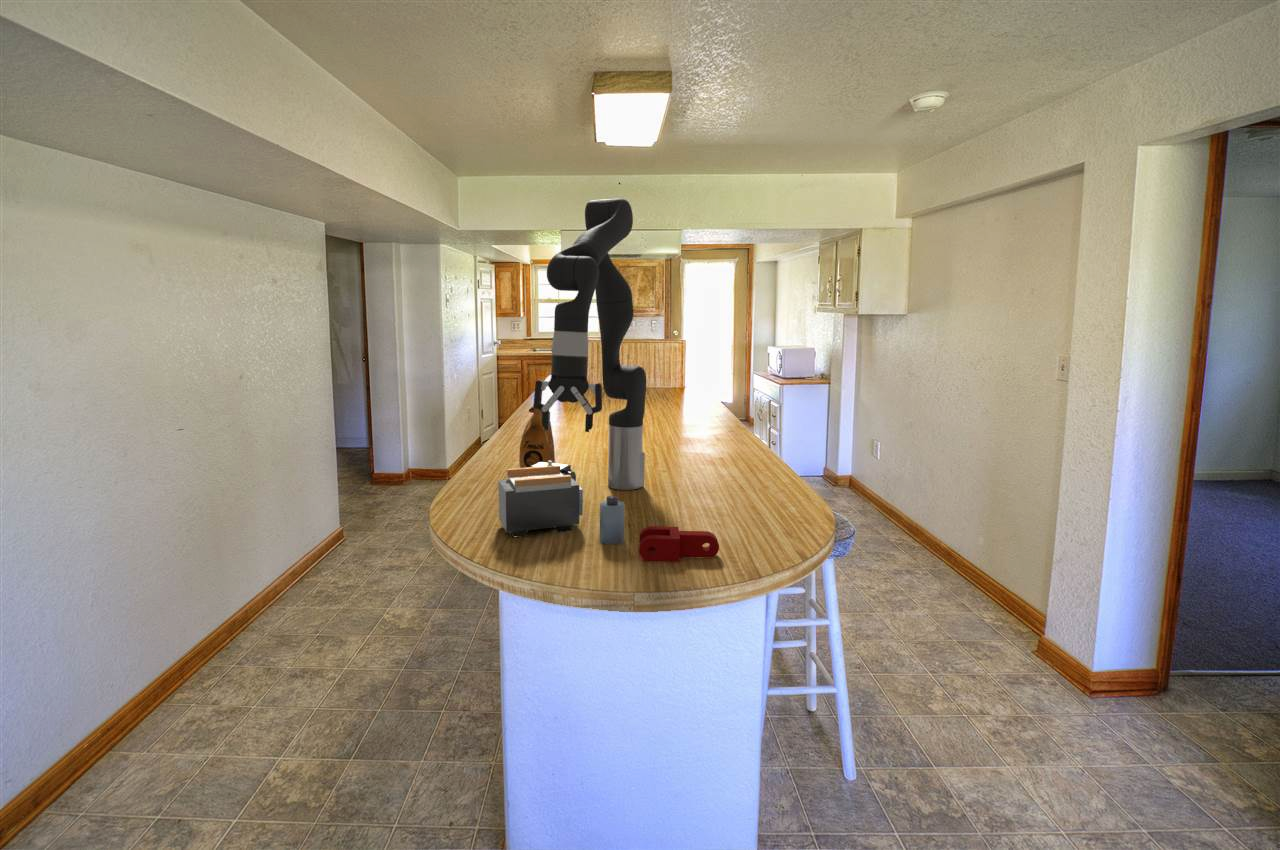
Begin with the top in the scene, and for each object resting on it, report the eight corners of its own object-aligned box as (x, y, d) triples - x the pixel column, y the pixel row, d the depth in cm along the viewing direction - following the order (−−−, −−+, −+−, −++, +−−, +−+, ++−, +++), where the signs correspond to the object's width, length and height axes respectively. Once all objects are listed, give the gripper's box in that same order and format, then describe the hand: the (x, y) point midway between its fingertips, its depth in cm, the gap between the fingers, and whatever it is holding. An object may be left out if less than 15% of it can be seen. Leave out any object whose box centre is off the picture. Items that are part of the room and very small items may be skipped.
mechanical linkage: (638, 562, 129) (639, 538, 128) (639, 548, 136) (639, 525, 135) (719, 564, 129) (720, 540, 128) (716, 550, 136) (717, 527, 135)
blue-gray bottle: (619, 534, 143) (619, 492, 141) (627, 542, 138) (628, 499, 137) (596, 537, 141) (596, 494, 140) (604, 545, 137) (604, 501, 135)
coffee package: (514, 487, 177) (513, 407, 173) (523, 475, 189) (522, 400, 185) (551, 489, 177) (550, 408, 172) (558, 476, 189) (558, 401, 185)
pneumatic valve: (568, 514, 156) (568, 465, 154) (524, 508, 159) (523, 460, 157) (577, 507, 161) (577, 460, 159) (534, 502, 164) (534, 455, 162)
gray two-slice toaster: (572, 517, 154) (572, 464, 152) (585, 531, 145) (585, 474, 142) (498, 524, 148) (497, 469, 145) (506, 539, 139) (505, 481, 136)
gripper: (605, 355, 141) (602, 430, 143) (539, 351, 141) (536, 426, 143) (602, 356, 133) (599, 435, 135) (532, 352, 133) (530, 431, 135)
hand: (567, 430), depth 139 cm, fingers open, 8 cm apart
